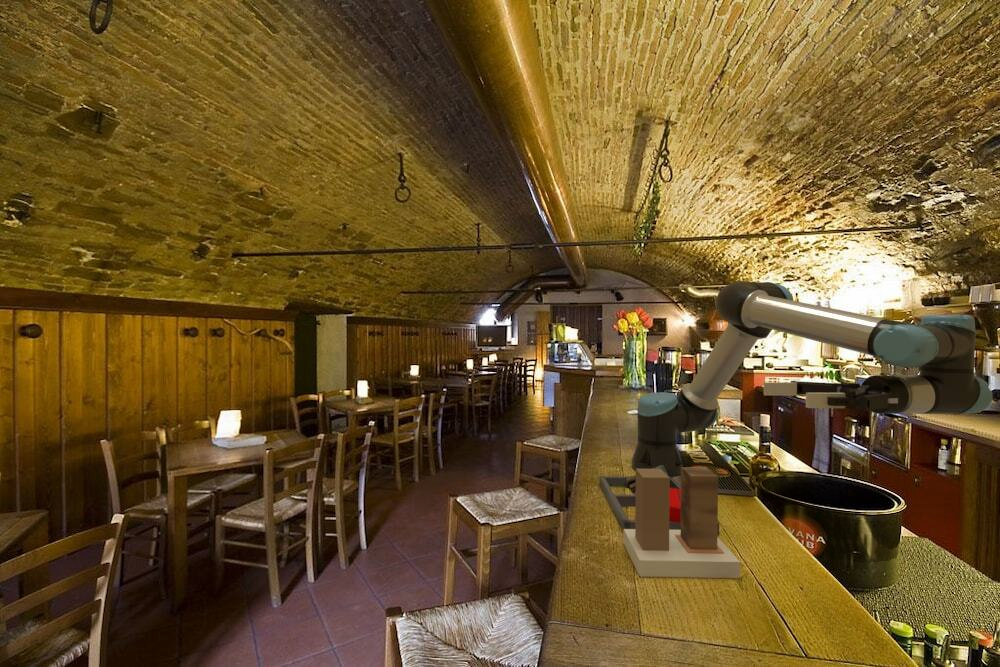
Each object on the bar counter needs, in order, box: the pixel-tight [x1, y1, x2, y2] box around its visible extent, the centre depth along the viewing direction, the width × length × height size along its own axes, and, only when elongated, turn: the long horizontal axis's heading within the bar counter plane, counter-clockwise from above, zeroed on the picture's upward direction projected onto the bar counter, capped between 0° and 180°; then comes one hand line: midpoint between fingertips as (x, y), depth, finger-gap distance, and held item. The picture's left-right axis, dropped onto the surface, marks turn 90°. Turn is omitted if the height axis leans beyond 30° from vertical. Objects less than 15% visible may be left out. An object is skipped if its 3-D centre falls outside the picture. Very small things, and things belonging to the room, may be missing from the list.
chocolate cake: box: [624, 465, 668, 495], centre depth 118 cm, size 10×7×12 cm
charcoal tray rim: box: [599, 475, 720, 536], centre depth 109 cm, size 29×20×2 cm
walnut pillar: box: [680, 466, 719, 550], centre depth 85 cm, size 5×5×14 cm
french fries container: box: [669, 488, 681, 523], centre depth 103 cm, size 7×9×14 cm
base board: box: [622, 469, 741, 579], centre depth 85 cm, size 12×18×17 cm, turn 88°
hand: (783, 394), depth 86 cm, fingers open, 13 cm apart
